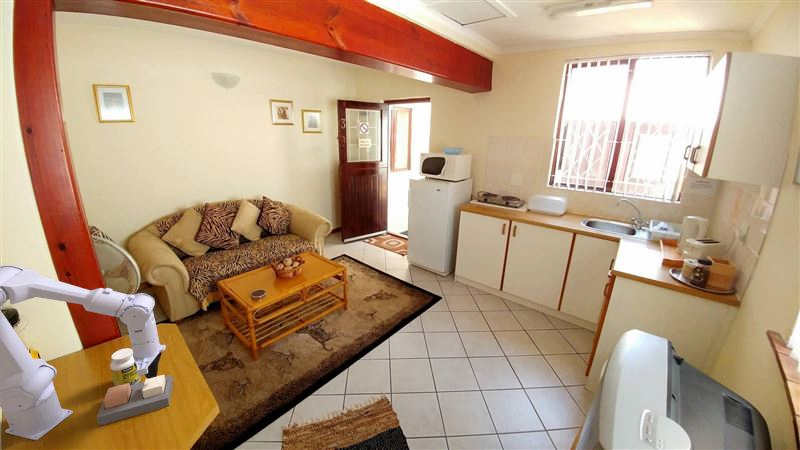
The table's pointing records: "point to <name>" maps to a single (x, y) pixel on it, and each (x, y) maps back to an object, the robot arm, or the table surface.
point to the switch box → (136, 403)
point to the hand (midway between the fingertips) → (152, 376)
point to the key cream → (154, 386)
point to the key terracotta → (117, 396)
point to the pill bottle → (124, 368)
